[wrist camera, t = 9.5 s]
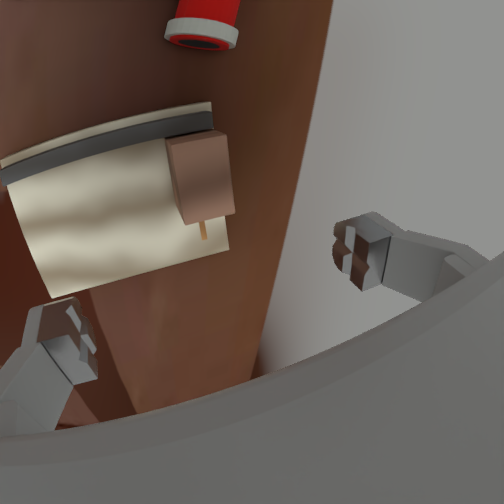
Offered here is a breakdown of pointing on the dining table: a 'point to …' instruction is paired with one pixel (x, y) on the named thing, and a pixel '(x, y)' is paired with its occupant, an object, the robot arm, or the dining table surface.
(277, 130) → the dining table surface
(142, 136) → the board
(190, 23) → the toy hammer
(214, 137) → the brown cardboard brick
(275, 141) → the dining table surface
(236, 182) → the dining table surface
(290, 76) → the dining table surface
